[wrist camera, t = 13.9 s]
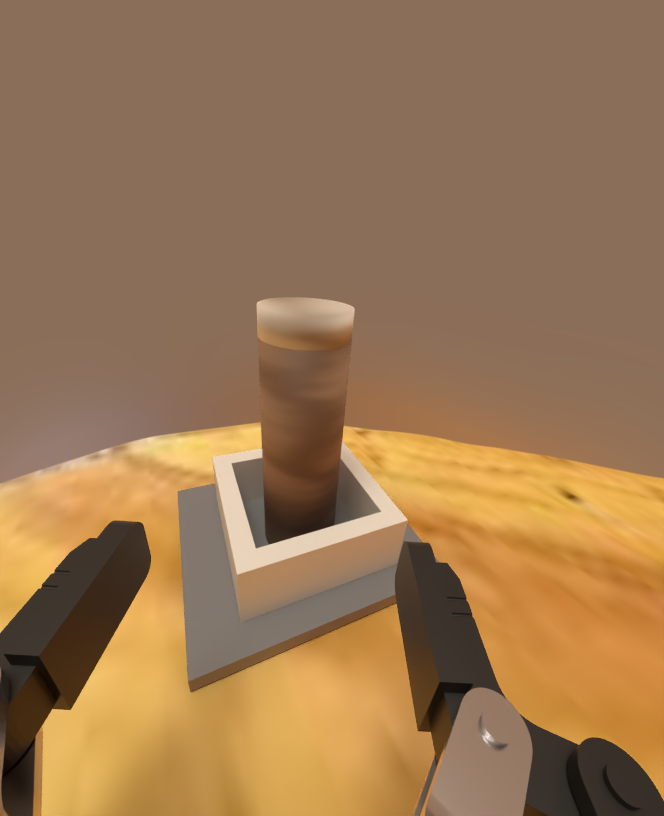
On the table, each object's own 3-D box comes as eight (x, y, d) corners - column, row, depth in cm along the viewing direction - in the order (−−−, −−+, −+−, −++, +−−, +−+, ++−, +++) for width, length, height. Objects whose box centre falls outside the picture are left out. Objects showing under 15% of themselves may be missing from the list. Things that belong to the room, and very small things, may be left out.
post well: (350, 463, 34) (355, 421, 31) (443, 582, 22) (462, 529, 20) (179, 500, 27) (170, 450, 25) (190, 692, 16) (176, 632, 14)
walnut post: (318, 498, 27) (330, 297, 20) (344, 544, 23) (372, 314, 16) (257, 514, 25) (247, 297, 18) (276, 568, 21) (271, 317, 14)
